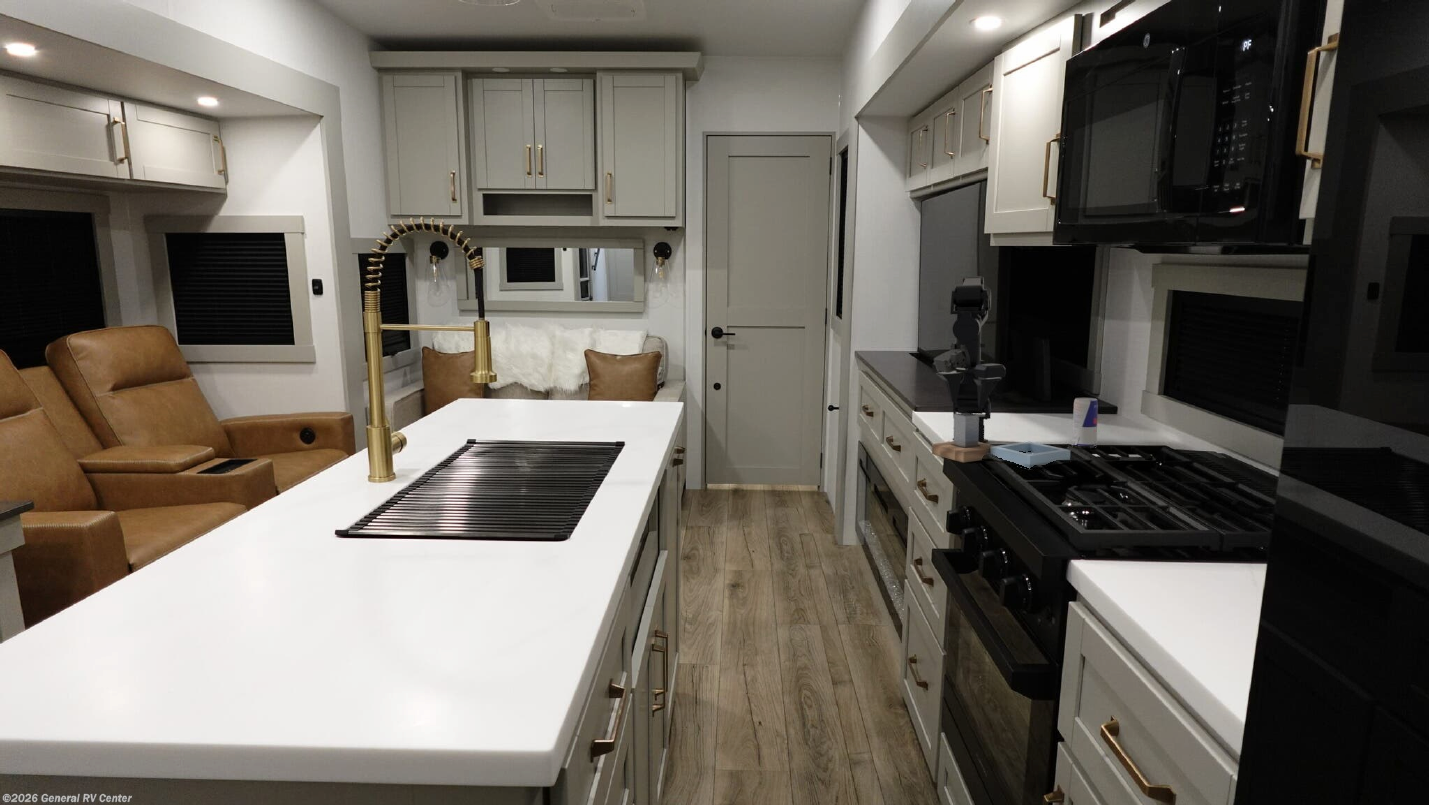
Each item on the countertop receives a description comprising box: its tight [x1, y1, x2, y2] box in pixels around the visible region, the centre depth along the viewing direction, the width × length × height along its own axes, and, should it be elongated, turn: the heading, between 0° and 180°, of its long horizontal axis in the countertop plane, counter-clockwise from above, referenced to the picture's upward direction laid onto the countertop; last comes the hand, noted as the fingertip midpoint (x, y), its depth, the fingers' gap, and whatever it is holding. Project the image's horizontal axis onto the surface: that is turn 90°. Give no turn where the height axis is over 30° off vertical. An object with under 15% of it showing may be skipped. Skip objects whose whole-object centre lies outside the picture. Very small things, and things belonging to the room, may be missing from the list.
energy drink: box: [1071, 397, 1099, 447], centre depth 193 cm, size 5×5×12 cm
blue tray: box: [990, 441, 1071, 470], centre depth 180 cm, size 12×12×3 cm
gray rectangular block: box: [953, 413, 979, 448], centre depth 187 cm, size 4×4×10 cm
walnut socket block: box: [931, 440, 995, 463], centre depth 188 cm, size 11×11×2 cm
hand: (967, 404), depth 186 cm, fingers open, 9 cm apart
